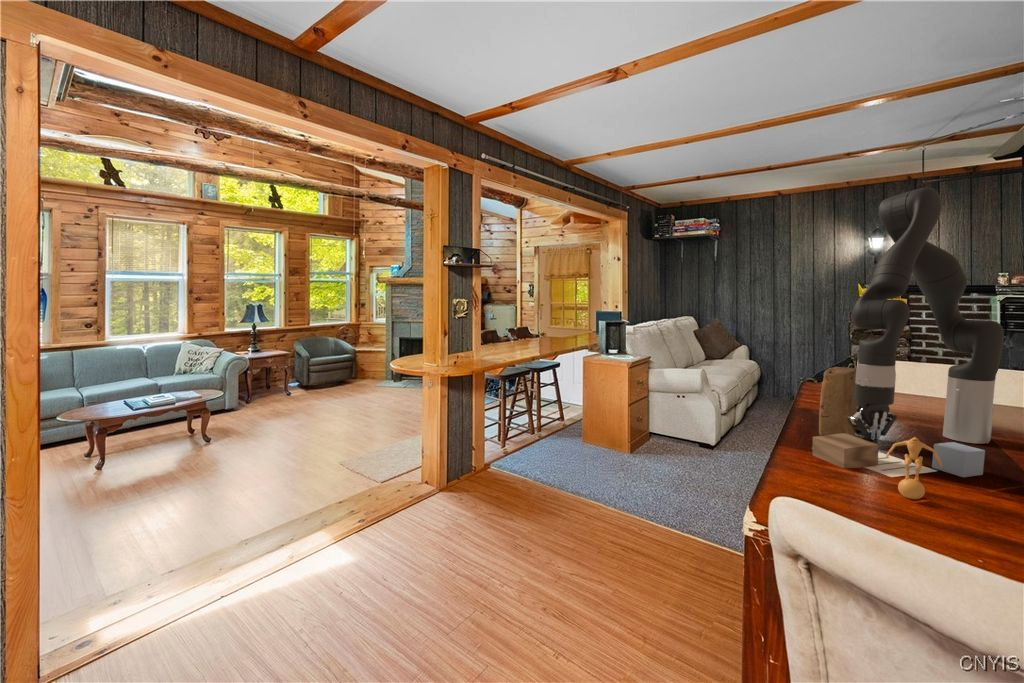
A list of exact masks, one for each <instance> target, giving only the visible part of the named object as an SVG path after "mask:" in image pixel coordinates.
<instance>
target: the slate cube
mask: <svg viewBox="0 0 1024 683" xmlns="http://www.w3.org/2000/svg"><path fill="white" fill-rule="evenodd" d="M933 449H934V450H935V451H936V452H937V455H938V456H939V458H940V460H941V462H942V467H941V466H940V464H938V463H939V461H938V460H937V459H936V457H935V455H934V453H933V452H932V462H931V469H934V470H937V471H942V472H945V473H948V474H951V475H955V476H958V477H961V478H968V477H975V476H982V475H983V474H984V467H985V466H984V465H985V456H986V450H985V449H981V448H978V447H973V446H969V445H965V444H963V443H958V442H955V441H951V442H949V441H948V442H939V443H933Z"/></svg>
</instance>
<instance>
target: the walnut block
mask: <svg viewBox="0 0 1024 683" xmlns="http://www.w3.org/2000/svg"><path fill="white" fill-rule="evenodd" d="M812 448H813V449H812V456H813V457H816V458H817V459H818V458H819V459H820V460H823V461H826V462H828V463H830V464H832V465H835V466H836V467H839V468H842V469H857V468H865V467H868V466H875V465H878V452H879V443H878V444H876V443H873V442H870V441H867V440H864V439H863V438H861V437H858V436H852V435H849V434H846V433H840V434H832V435H824V436H820V435H818V436H812Z"/></svg>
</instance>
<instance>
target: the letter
mask: <svg viewBox="0 0 1024 683" xmlns="http://www.w3.org/2000/svg"><path fill="white" fill-rule="evenodd" d="M811 449H812V450H813V447H811ZM886 455H887V453H883V452H880V451H878V465H875V466H868V467H864V468H865V469H868V470H871V471H874V472H875V473H879V474H882V475H885V476H887V477H890V478H895V477H901V476H904V477H905V476H906V469H905V467H906V466H905V463H904V461H905V459H902V458H899V457H895V456H893V455H891V454H890V455H889V457H887V458H886ZM908 467H909V468H910V470H909V476H911V475H915V474H916V469H918V467H917V465H916V464H915V462H912V463H911V464H909V466H908ZM920 470H921V471H920V472H919V475H920V474H926V473H927V474H928V473H934V472H938V469H935V468H932V467H931V468H930V467H927V466H924V465H922V467H921V469H920Z"/></svg>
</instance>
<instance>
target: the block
mask: <svg viewBox="0 0 1024 683" xmlns="http://www.w3.org/2000/svg"><path fill="white" fill-rule="evenodd" d="M856 369H857V368H854V367H845V366H844V367H843V366H841V367H840V366H833V367H829V368H828V369H826V370H825V371H824V372H823V379H822V383H821V386H820V387H821V388H820V390H821V391H820V396H819V397H820V398H819V414H818V434H819V436H824V435H832V434H840V433H846V434H849V435H852V436H855V435H856V433H855V431H854V430H853V428H852V426H851V425H850V423H849V421H848V419H847V418H848V416H854V415H855V414H856V408H857V406H858V402H857V401H856V400H855V399H854V391H855V377H856ZM855 437H856V436H855Z"/></svg>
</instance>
